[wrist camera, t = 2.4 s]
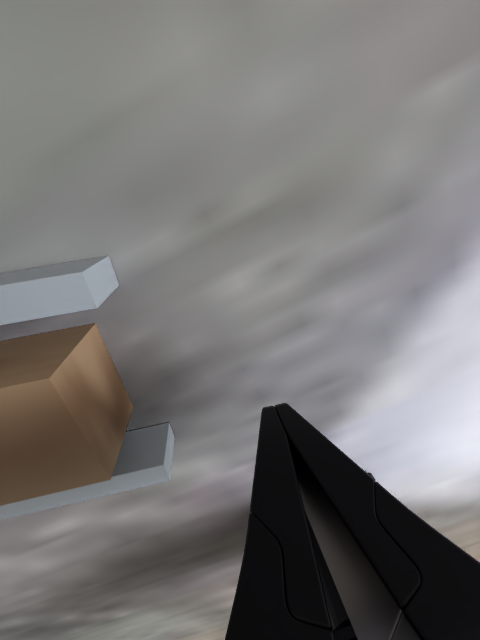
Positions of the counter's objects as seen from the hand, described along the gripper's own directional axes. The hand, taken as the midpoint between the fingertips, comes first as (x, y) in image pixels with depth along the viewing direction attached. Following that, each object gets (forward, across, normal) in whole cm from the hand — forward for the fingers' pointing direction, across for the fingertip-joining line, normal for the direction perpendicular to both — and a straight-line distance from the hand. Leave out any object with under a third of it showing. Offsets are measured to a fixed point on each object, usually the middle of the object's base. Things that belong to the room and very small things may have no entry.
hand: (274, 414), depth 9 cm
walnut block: (+5, +10, 0) cm, 11 cm away
